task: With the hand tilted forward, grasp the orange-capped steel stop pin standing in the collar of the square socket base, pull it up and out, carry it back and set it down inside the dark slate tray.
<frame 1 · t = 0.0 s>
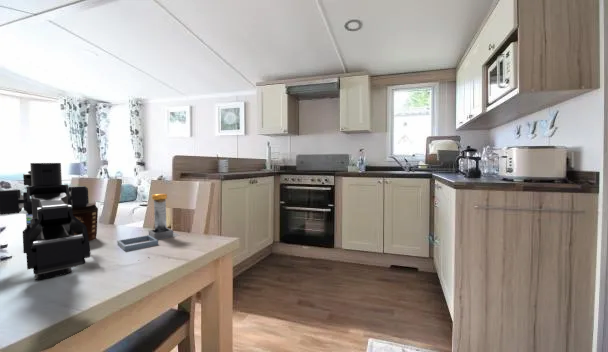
hand: (44, 196, 85), 17 cm above the table, tool horizontal, fingers open, 9 cm apart
stop pin: (161, 236, 97), point 1 cm above the table, touching square socket base
square socket base: (163, 238, 98), on the table
coffee cup: (84, 244, 93), on the table
light bulb box: (50, 243, 95), on the table
tray: (137, 248, 87), on the table
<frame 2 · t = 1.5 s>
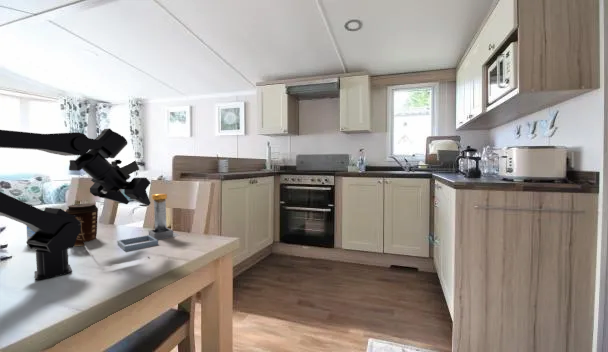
hand: (138, 203, 89), 14 cm above the table, tool tilted 45°, fingers open, 9 cm apart
nothing on the table moved.
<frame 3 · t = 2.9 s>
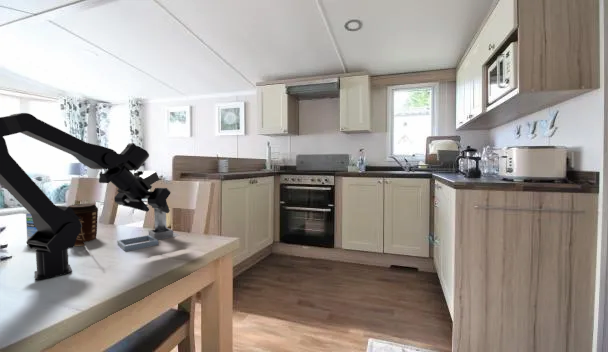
hand: (158, 211, 96), 10 cm above the table, tool tilted 45°, fingers open, 9 cm apart
nothing on the table moved.
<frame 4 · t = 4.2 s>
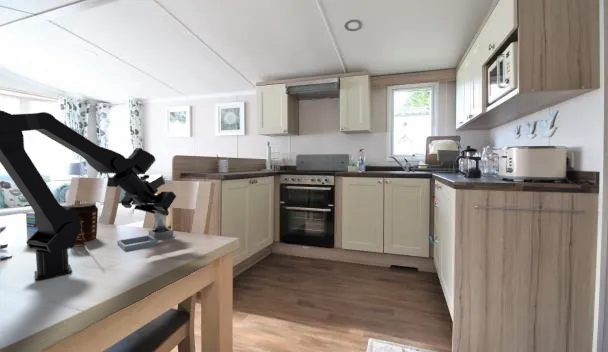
hand: (163, 214, 98), 9 cm above the table, tool tilted 45°, fingers closed on stop pin, 4 cm apart
stop pin: (161, 236, 97), point 1 cm above the table, touching gripper, square socket base
everything else where it was.
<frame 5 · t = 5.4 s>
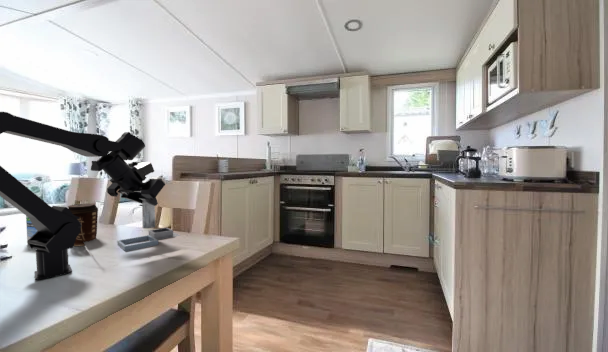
hand: (152, 204, 93), 13 cm above the table, tool tilted 45°, fingers closed on stop pin, 4 cm apart
stop pin: (148, 227, 92), point 6 cm above the table, touching gripper
everything else where it was.
when the fingers open (9 cm above the table, at t = 6.7 s): stop pin drops 1 cm, resting on tray.
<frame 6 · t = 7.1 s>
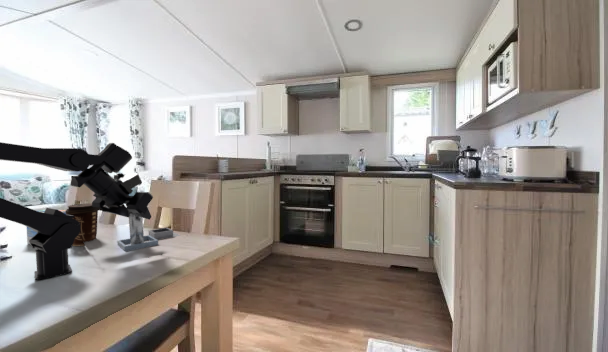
hand: (140, 217, 88), 9 cm above the table, tool tilted 45°, fingers open, 8 cm apart
stop pin: (137, 246, 87), point 1 cm above the table, touching tray
everything else where it was.
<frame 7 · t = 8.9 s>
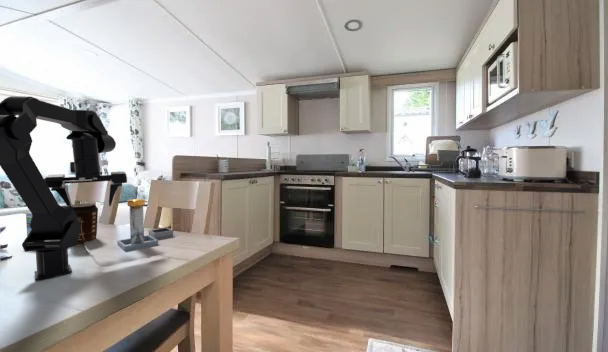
hand: (91, 207, 83), 13 cm above the table, tool pointing down, fingers open, 9 cm apart
nothing on the table moved.
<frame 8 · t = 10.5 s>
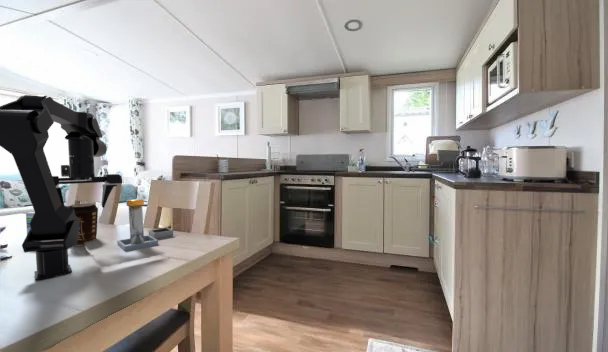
hand: (84, 209, 83), 13 cm above the table, tool pointing down, fingers open, 9 cm apart
nothing on the table moved.
at the end: stop pin inside the target area on the tray (0.1 cm from its centre), point 0.6 cm above the tray's base; stop pin moved 10.2 cm from its start; the gripper is holding nothing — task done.
